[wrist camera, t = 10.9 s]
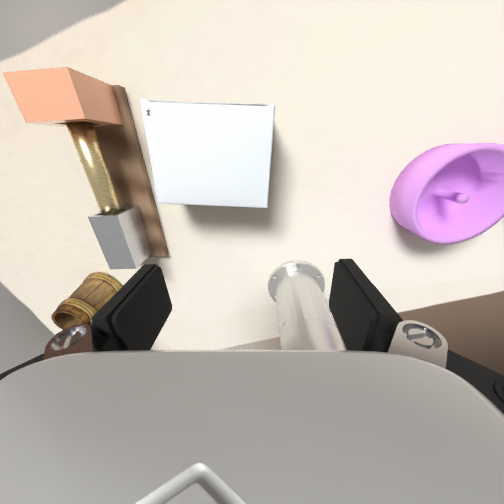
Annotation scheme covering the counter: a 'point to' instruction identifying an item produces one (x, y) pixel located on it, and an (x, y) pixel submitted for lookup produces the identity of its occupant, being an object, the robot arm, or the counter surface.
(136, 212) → the sleeve
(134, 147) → the base board
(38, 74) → the socket block
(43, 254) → the counter surface
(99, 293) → the wooden mug
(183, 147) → the supplement box
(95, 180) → the tube
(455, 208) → the container set
